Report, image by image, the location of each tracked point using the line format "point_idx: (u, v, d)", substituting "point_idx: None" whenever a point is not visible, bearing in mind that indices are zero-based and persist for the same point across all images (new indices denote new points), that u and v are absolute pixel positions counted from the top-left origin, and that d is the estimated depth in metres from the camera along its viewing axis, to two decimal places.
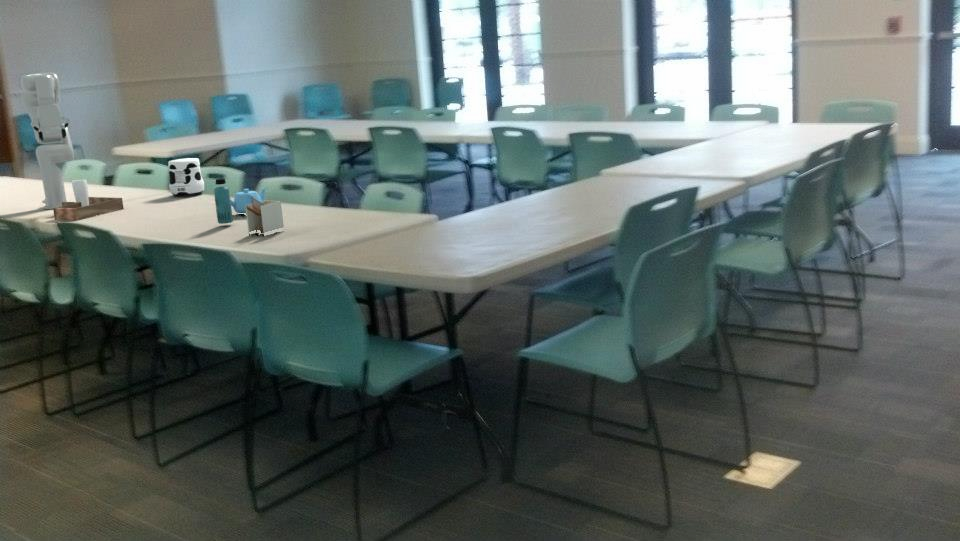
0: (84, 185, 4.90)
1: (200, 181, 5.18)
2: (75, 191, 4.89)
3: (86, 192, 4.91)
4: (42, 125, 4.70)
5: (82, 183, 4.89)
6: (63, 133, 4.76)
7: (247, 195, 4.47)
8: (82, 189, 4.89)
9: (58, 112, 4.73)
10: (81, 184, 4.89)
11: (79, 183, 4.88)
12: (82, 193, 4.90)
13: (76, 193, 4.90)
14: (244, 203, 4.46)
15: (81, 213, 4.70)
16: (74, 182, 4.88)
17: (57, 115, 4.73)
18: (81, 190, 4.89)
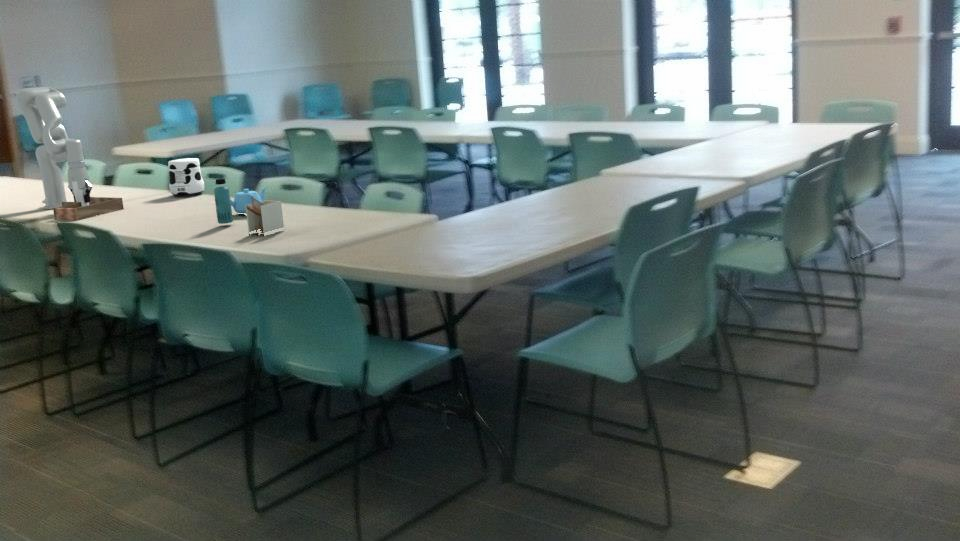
0: None
1: (200, 181, 5.18)
2: (75, 191, 4.89)
3: None
4: None
5: None
6: None
7: (247, 195, 4.47)
8: (82, 189, 4.89)
9: None
10: None
11: None
12: (82, 193, 4.90)
13: (76, 193, 4.90)
14: (244, 203, 4.46)
15: (81, 213, 4.70)
16: (74, 182, 4.88)
17: None
18: (81, 190, 4.89)
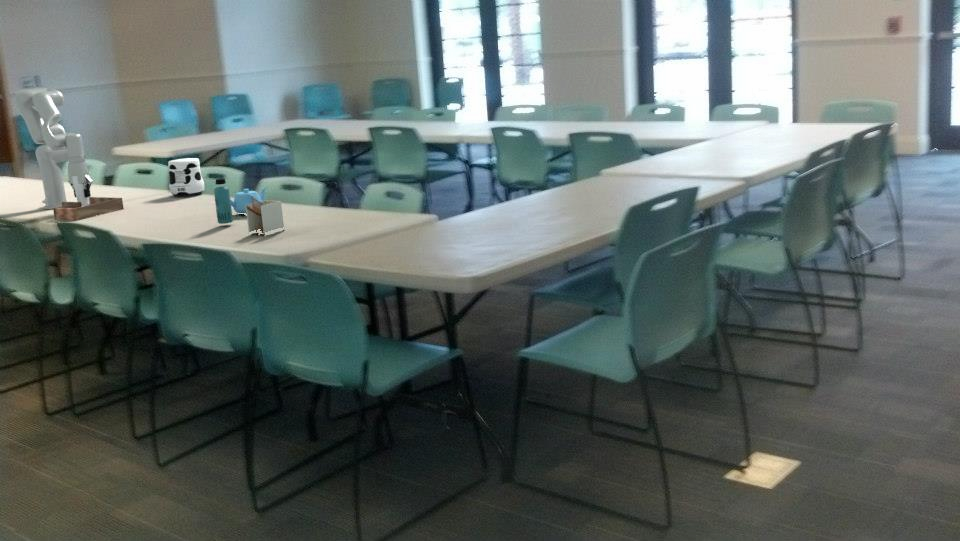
0: None
1: (200, 181, 5.18)
2: (75, 186, 4.88)
3: None
4: None
5: None
6: None
7: (247, 195, 4.47)
8: (82, 184, 4.88)
9: None
10: None
11: None
12: (82, 188, 4.89)
13: (76, 188, 4.89)
14: (244, 203, 4.46)
15: (81, 213, 4.70)
16: (74, 177, 4.87)
17: None
18: (81, 185, 4.88)
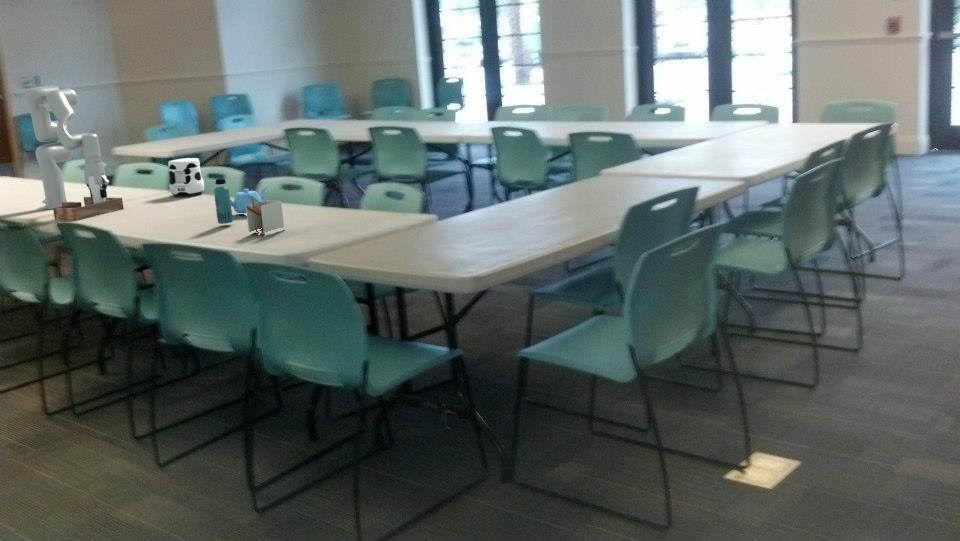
0: None
1: (200, 181, 5.18)
2: (91, 186, 4.83)
3: None
4: None
5: None
6: None
7: (247, 195, 4.47)
8: None
9: None
10: None
11: None
12: (99, 188, 4.84)
13: (92, 188, 4.83)
14: (244, 203, 4.46)
15: (81, 213, 4.70)
16: (90, 177, 4.82)
17: None
18: (98, 185, 4.83)
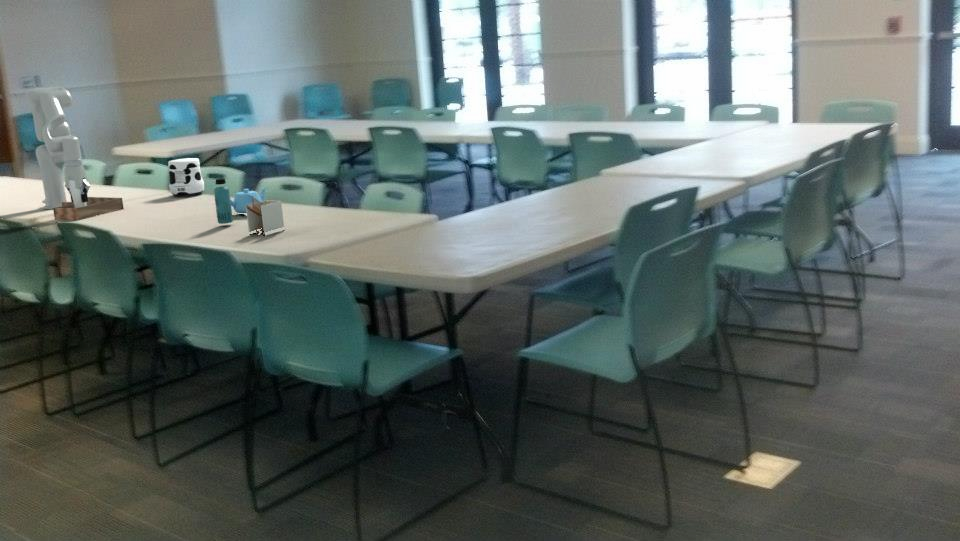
0: None
1: (200, 181, 5.18)
2: (72, 190, 4.73)
3: None
4: None
5: None
6: None
7: (247, 195, 4.47)
8: (79, 188, 4.74)
9: None
10: None
11: None
12: (79, 192, 4.74)
13: (73, 192, 4.74)
14: (244, 203, 4.46)
15: (81, 213, 4.70)
16: (71, 181, 4.72)
17: None
18: (78, 189, 4.73)
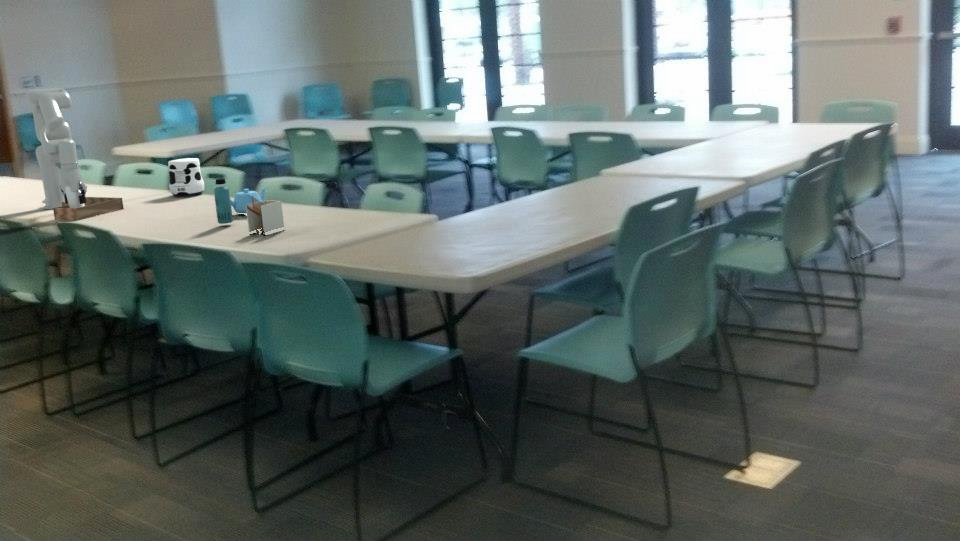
0: None
1: (200, 181, 5.18)
2: (68, 197, 4.72)
3: None
4: None
5: None
6: None
7: (247, 195, 4.47)
8: (75, 194, 4.72)
9: None
10: None
11: None
12: (75, 199, 4.73)
13: (69, 199, 4.72)
14: (244, 203, 4.46)
15: (81, 213, 4.70)
16: (67, 187, 4.71)
17: None
18: (74, 196, 4.72)
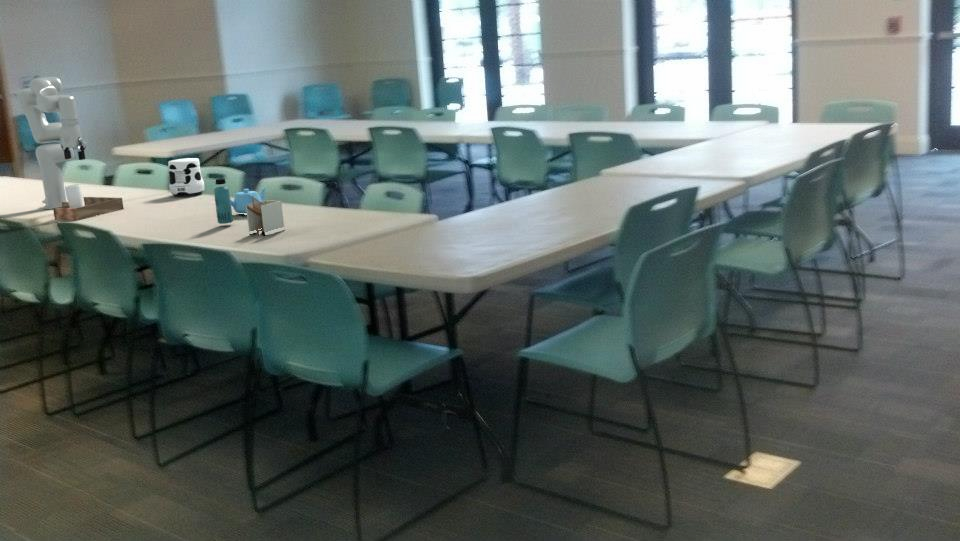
0: (78, 190, 4.73)
1: (200, 181, 5.18)
2: (68, 197, 4.72)
3: (80, 198, 4.74)
4: None
5: (76, 188, 4.72)
6: (70, 153, 4.83)
7: (247, 195, 4.47)
8: (76, 195, 4.72)
9: None
10: (74, 189, 4.71)
11: (72, 188, 4.71)
12: (76, 199, 4.73)
13: (69, 199, 4.72)
14: (244, 203, 4.46)
15: (81, 213, 4.70)
16: (67, 187, 4.71)
17: None
18: (74, 196, 4.72)
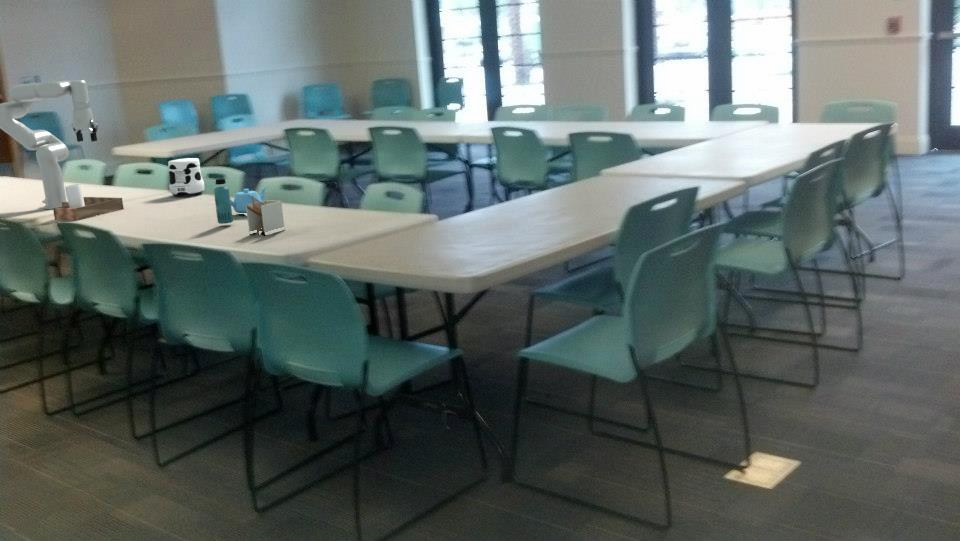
0: (78, 190, 4.73)
1: (200, 181, 5.18)
2: (68, 197, 4.72)
3: (80, 198, 4.74)
4: None
5: (76, 188, 4.72)
6: (82, 136, 5.02)
7: (247, 195, 4.47)
8: (76, 194, 4.72)
9: None
10: (74, 189, 4.71)
11: (72, 188, 4.71)
12: (76, 199, 4.73)
13: (69, 199, 4.72)
14: (244, 203, 4.46)
15: (81, 213, 4.70)
16: (67, 187, 4.71)
17: None
18: (74, 196, 4.72)
